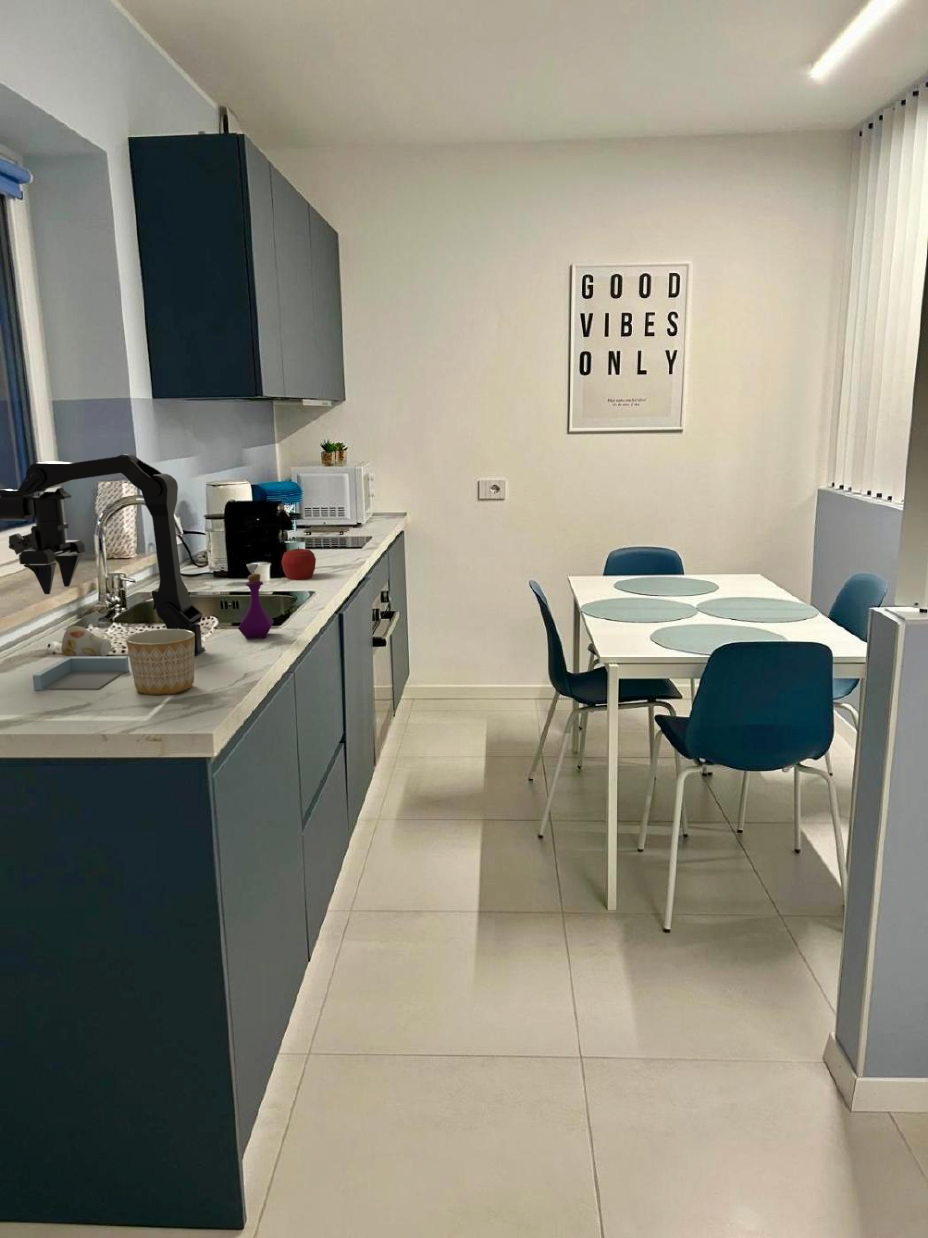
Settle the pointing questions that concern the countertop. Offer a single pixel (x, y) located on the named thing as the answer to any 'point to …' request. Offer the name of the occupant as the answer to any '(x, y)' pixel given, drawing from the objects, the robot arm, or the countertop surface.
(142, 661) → the planter
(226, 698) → the countertop surface
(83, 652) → the mug
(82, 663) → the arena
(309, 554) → the apple
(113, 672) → the mat
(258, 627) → the perfume bottle
